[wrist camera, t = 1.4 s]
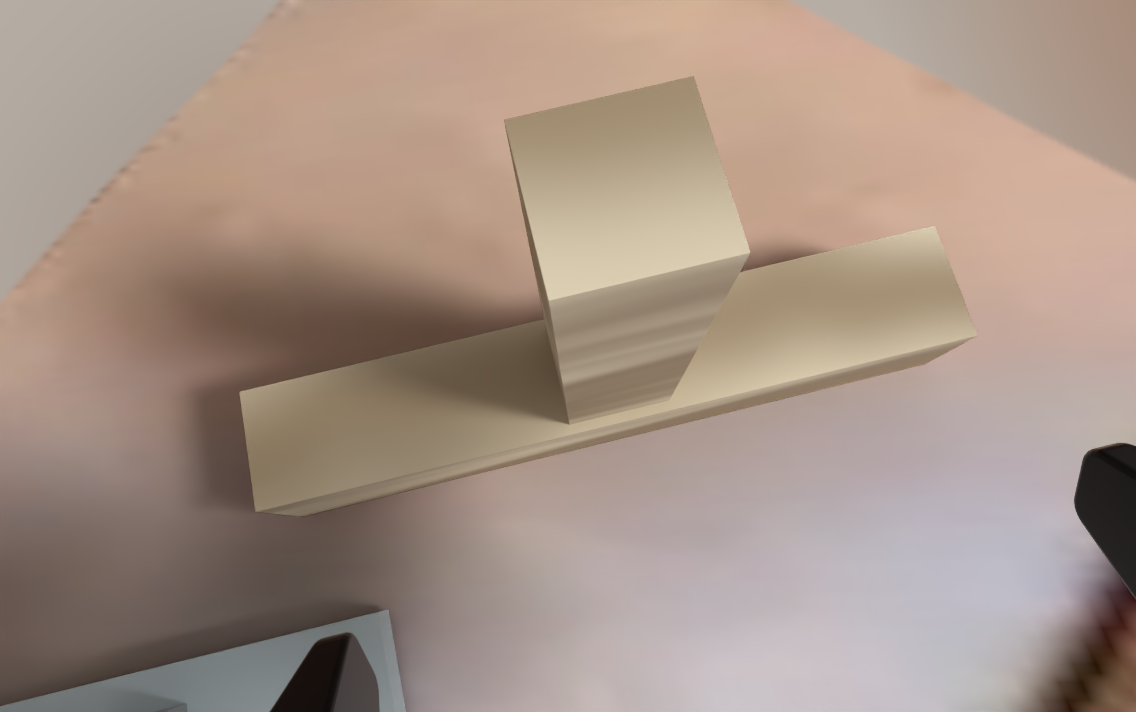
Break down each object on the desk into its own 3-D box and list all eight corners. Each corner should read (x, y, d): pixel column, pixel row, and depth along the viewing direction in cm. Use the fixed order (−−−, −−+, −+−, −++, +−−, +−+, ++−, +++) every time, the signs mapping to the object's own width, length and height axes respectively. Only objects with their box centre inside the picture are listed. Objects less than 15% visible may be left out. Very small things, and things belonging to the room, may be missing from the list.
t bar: (925, 364, 21) (1364, 126, 9) (302, 516, 21) (-99, 476, 9) (889, 267, 22) (1253, -70, 10) (286, 412, 22) (-104, 241, 9)
